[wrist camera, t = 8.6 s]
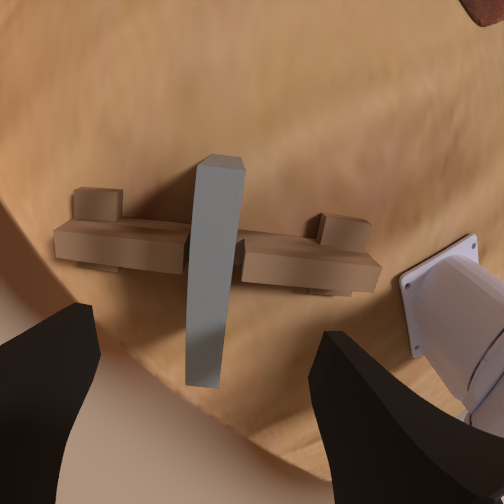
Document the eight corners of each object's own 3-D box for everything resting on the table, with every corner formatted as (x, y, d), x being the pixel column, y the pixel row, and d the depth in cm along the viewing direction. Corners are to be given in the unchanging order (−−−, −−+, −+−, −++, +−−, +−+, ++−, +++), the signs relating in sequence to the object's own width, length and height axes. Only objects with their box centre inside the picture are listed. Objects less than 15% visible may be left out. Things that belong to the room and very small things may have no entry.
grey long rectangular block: (221, 311, 20) (218, 388, 13) (198, 308, 19) (185, 385, 13) (240, 157, 16) (245, 170, 9) (212, 154, 16) (197, 165, 9)
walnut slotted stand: (364, 219, 18) (390, 238, 14) (345, 289, 20) (364, 317, 16) (81, 187, 16) (51, 199, 13) (83, 260, 18) (59, 284, 14)
